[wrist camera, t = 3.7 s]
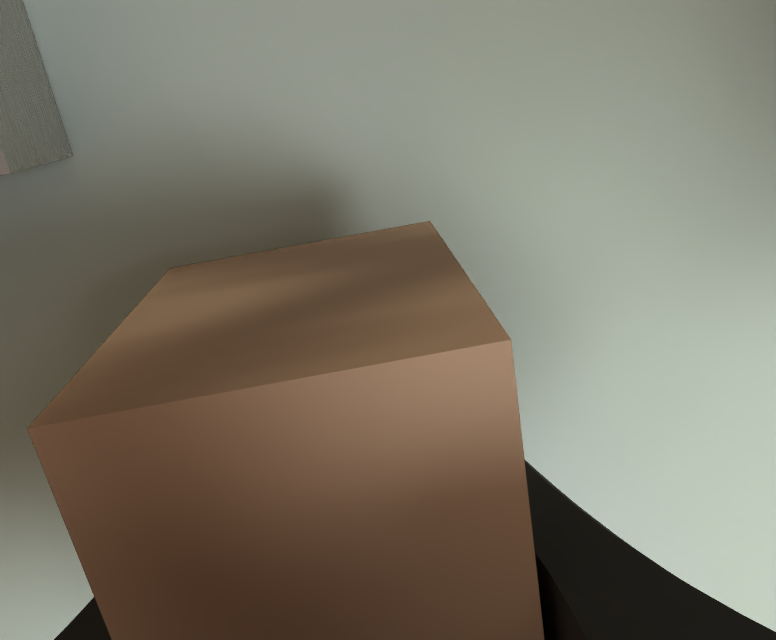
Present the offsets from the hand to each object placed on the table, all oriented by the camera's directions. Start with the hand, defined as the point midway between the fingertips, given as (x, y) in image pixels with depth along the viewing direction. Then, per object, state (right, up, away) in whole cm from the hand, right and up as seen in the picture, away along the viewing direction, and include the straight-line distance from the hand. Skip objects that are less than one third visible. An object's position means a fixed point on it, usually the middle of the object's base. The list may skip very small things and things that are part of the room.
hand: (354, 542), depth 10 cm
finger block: (0, +1, +2) cm, 2 cm away
